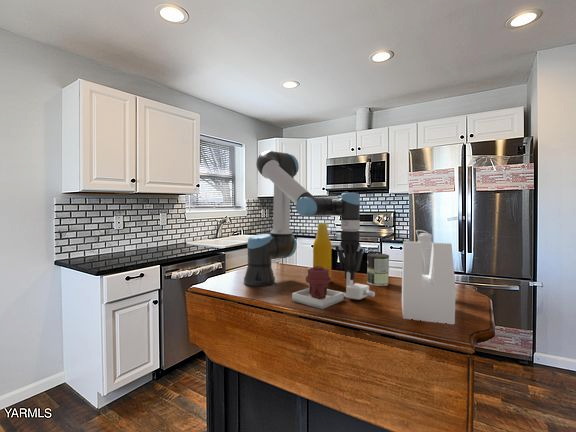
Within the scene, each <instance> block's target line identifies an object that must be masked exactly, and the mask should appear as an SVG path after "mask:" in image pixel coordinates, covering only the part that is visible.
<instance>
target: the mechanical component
mask: <svg viewBox="0 0 576 432" xmlns="http://www.w3.org/2000/svg"><path fill="white" fill-rule="evenodd" d="M331 282H332V277H331V278H330V277H329V270H328V269H325V268H323V267H321V266H315V267H313V266H312V267H310V268H308V269H307V276H306V277H305V283H307V284H309V287H308V288H309V294H310V295H311V297H314V298H316V299H321V298H325V297H326V295H327V289H328V284H330V283H331Z"/></svg>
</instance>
